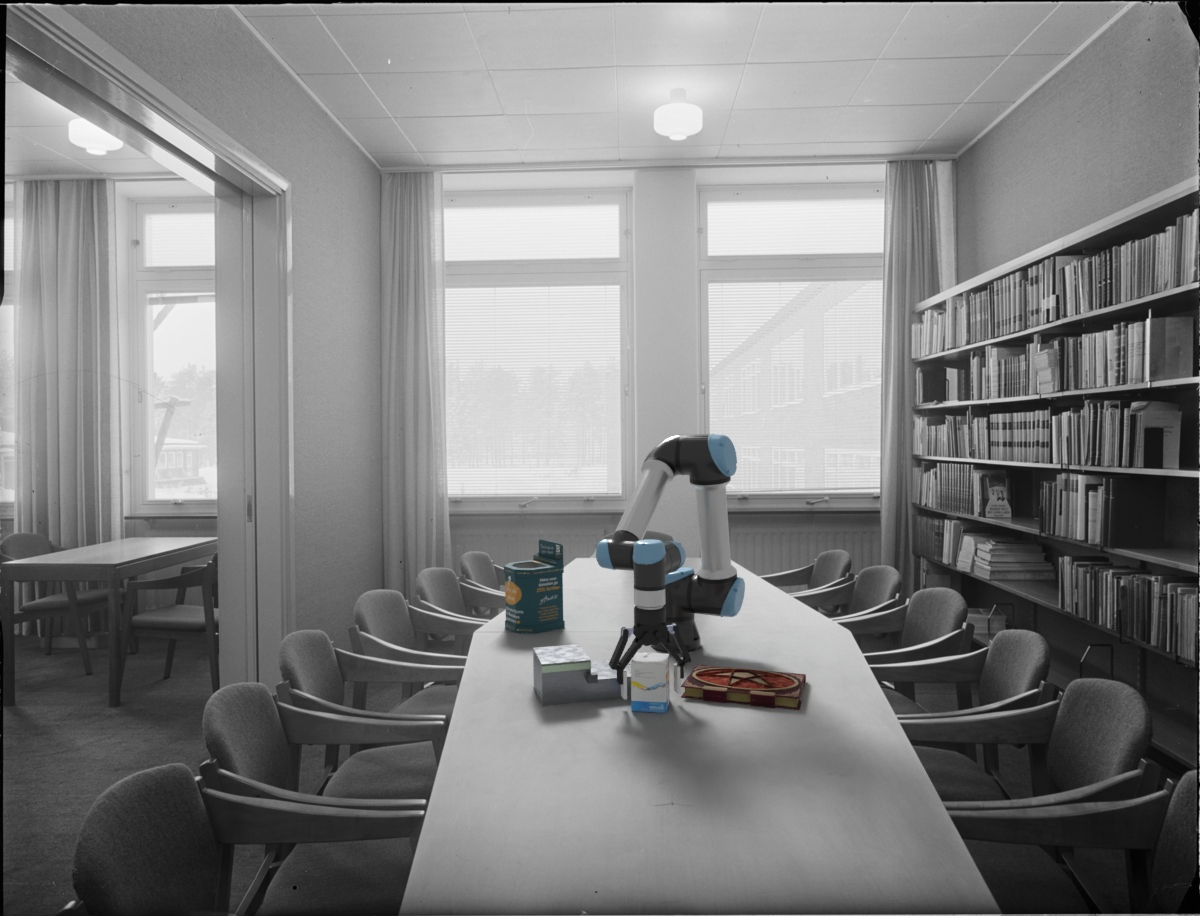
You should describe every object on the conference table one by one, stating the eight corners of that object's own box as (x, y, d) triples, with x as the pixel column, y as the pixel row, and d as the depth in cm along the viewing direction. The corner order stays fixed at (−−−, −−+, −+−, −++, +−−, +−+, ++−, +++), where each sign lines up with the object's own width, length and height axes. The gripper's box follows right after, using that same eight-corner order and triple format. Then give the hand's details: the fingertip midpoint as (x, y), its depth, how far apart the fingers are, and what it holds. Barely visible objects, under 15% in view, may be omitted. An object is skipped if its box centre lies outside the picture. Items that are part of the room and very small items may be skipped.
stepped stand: (623, 677, 198) (623, 640, 198) (641, 698, 182) (640, 658, 182) (533, 686, 192) (533, 647, 192) (543, 708, 177) (543, 667, 176)
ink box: (666, 713, 173) (666, 663, 172) (630, 711, 174) (629, 661, 174) (670, 700, 181) (670, 652, 181) (636, 698, 183) (635, 651, 182)
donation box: (564, 627, 248) (563, 544, 247) (521, 636, 239) (520, 549, 238) (540, 618, 262) (539, 538, 261) (499, 625, 253) (497, 543, 252)
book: (805, 686, 193) (805, 666, 193) (799, 713, 173) (799, 692, 173) (697, 675, 202) (697, 657, 202) (679, 700, 182) (679, 680, 182)
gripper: (693, 598, 183) (693, 684, 184) (595, 605, 178) (596, 694, 178) (704, 605, 176) (705, 695, 177) (603, 613, 170) (604, 705, 171)
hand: (650, 694), depth 178 cm, fingers open, 12 cm apart
